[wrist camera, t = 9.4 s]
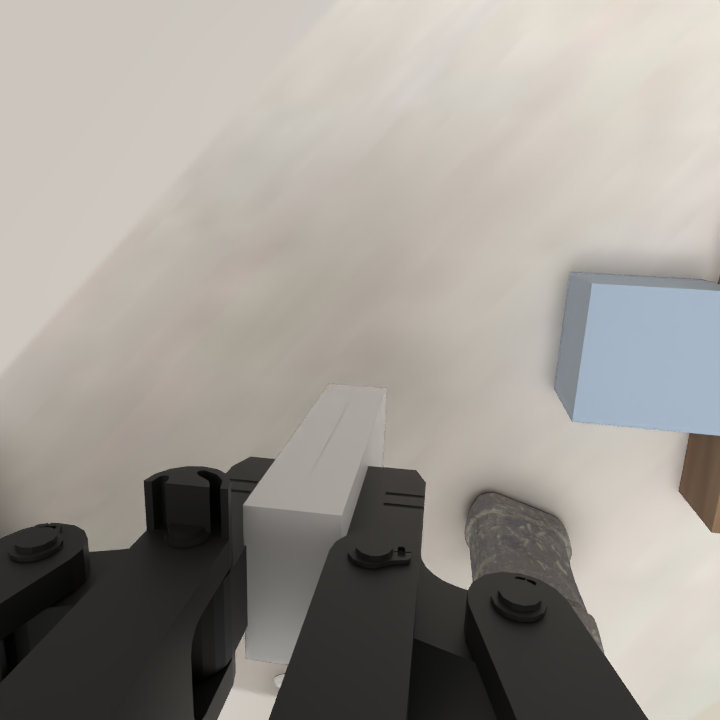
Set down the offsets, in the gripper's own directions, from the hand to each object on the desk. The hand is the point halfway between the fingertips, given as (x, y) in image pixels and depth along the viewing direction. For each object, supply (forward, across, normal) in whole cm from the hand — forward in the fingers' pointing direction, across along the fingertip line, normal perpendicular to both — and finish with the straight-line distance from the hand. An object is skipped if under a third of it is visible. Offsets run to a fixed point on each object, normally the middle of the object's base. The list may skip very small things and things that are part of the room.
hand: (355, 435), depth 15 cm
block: (+16, +11, 0) cm, 19 cm away
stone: (+16, +7, -11) cm, 20 cm away
